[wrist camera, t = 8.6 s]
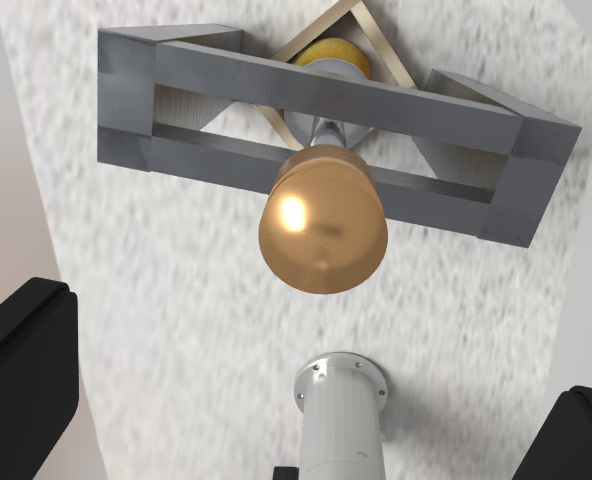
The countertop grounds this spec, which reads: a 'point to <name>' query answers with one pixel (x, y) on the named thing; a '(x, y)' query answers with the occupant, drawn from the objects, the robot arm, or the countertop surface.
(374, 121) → the frame
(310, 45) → the bread roll
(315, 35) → the cradle
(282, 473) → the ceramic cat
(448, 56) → the countertop surface
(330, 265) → the plunger
